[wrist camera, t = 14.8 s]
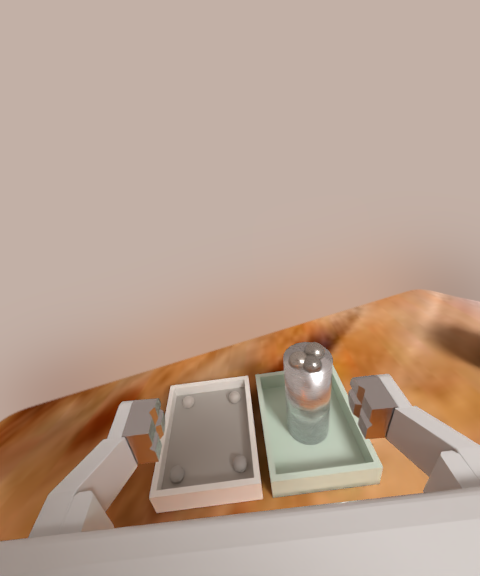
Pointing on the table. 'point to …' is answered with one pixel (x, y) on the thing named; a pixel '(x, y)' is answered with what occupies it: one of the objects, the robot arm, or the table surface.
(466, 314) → the table surface
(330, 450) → the bin
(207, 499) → the bin
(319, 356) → the chrome tube with bumps
